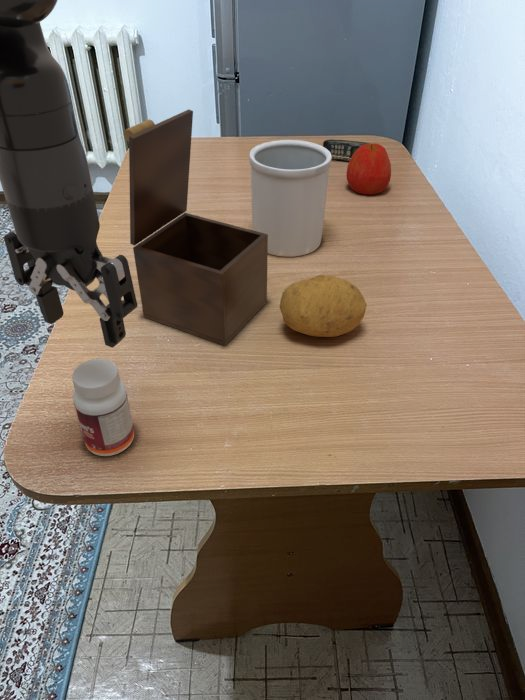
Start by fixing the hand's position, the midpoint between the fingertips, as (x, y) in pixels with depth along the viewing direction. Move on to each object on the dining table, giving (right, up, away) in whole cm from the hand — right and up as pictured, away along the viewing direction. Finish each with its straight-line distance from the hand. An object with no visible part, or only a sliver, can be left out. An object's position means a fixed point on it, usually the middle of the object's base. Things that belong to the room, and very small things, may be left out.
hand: (84, 330), depth 61 cm
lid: (+5, +23, +22) cm, 32 cm away
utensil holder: (+24, +20, +52) cm, 61 cm away
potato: (+29, +1, +29) cm, 41 cm away
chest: (+10, +5, +33) cm, 35 cm away
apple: (+44, +36, +72) cm, 92 cm away
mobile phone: (+42, +47, +86) cm, 107 cm away
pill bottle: (0, -14, +11) cm, 18 cm away
